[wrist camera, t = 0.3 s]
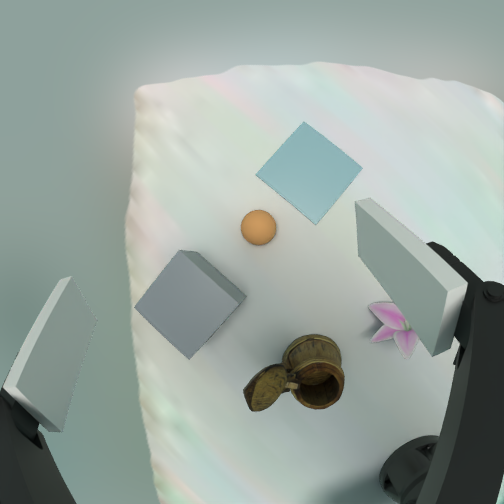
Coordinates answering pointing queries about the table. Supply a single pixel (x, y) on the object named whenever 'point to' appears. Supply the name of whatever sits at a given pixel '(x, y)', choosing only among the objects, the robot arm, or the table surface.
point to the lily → (394, 328)
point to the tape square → (309, 172)
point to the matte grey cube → (189, 301)
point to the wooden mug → (300, 375)
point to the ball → (258, 227)
